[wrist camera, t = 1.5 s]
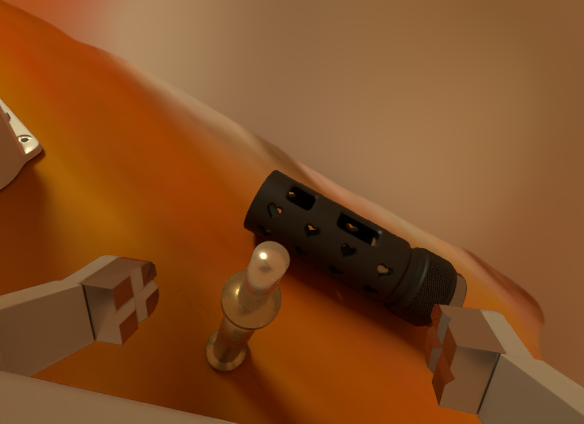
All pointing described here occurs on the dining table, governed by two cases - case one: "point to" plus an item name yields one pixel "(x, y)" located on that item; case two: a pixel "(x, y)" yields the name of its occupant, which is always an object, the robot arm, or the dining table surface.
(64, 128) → the dining table surface
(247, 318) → the candlestick inner
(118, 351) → the dining table surface
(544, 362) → the robot arm
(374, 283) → the muzzle brake
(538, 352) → the dining table surface
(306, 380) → the dining table surface
